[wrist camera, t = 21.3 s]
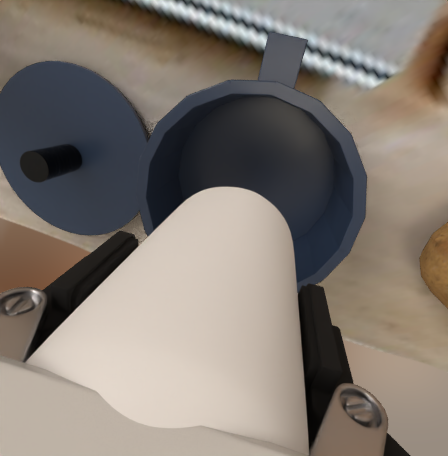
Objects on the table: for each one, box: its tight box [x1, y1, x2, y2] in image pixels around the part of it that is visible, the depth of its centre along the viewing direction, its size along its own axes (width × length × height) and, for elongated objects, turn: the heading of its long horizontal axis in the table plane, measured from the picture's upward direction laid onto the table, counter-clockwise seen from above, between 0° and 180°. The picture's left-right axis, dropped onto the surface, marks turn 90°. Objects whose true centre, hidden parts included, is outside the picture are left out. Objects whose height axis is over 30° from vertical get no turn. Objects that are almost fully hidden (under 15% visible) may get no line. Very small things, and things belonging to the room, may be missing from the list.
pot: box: [136, 32, 367, 293], centre depth 26 cm, size 17×22×8 cm
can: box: [25, 187, 309, 455], centre depth 10 cm, size 6×6×12 cm
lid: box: [0, 61, 149, 235], centre depth 29 cm, size 18×18×6 cm
